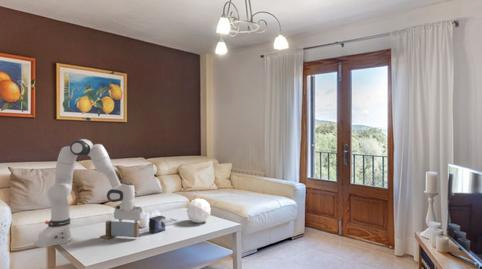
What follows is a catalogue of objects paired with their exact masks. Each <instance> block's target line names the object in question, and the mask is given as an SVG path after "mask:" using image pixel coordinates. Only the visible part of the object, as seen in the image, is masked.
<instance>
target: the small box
mask: <svg viewBox="0 0 482 269" xmlns="http://www.w3.org/2000/svg"><path fill="white" fill-rule="evenodd" d="M148 220H149V221H148V222H149V223H148V225H149V226H148V227H149V228H148V233H150V234H154V235H156V234H158V233H162V232H164V231H166V216H163V215H162V214H161V215H156V216H153V217H149V219H148Z"/></svg>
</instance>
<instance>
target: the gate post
mask: <svg viewBox="0 0 482 269" xmlns="http://www.w3.org/2000/svg"><path fill="white" fill-rule="evenodd" d="M112 221H113V220H106V221H105V234H102V235H100V236H99V237H100V238H101V239H104V240H106V241H107V240H110V239H111V240H112V239H115V238H117V237H118V236H111V222H112Z"/></svg>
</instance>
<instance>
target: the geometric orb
mask: <svg viewBox="0 0 482 269" xmlns="http://www.w3.org/2000/svg"><path fill="white" fill-rule="evenodd" d="M211 211H212V209H211V206H210V203H209V202H208V201H207V200H206V199H203V198H195V199H193V200H191V201H190V202H189V204H188V205H187V208H186V213H187V217H188V219H189V220H190V221H191V222H192V223H197V224H202V223H204V222H206V221H207V220H208V219H209V218H210V216H211Z"/></svg>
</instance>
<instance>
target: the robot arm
mask: <svg viewBox="0 0 482 269" xmlns="http://www.w3.org/2000/svg"><path fill="white" fill-rule="evenodd" d="M78 156H79V157H81V156H88V157H89V158H90V159H91V162H92V165H93V166H94V168H95V170H96V171H97V172H98V173H100V174H103V175H105V177H106V178H107V179H108V182H109V184H110V185H111V189H109V190H108V191H107V193H106V198H107V200H108V201H109V202H111V203H117V202H121V203H119V204H117V205H115V206H114V211H113V218H114V219H115V220H118V222H123V220H124V221H125V220H127V221H134V222H133V223H138V222H139V221H142V220H143V218H144V216H143V207H141V206H136V201H135V200H136V199H135V196H136V193H135V192H136V190H135V185H134V184H133V183H131V182H122V183H121V180H120V179H119V176H118V174H117V172H116V170H115V168H114V166H113V164H112V160H111V158H110V156H109V153H108V152H107V150H106V148H105V147H104V145H103V144H101V143H95V144H94V142H93V141H92V140H90V139H87V138H79V139H76V140H73V142H71V144H70V146H64V147H62V148H61V149H60V151H59V154H58V157H57V161H56V166H55V171H54V176H55V178H54V184H53V185H51V186H50V187H49V188H48V190H47V193H46V196H47V199H48V201H49V204H50V205H49V206H50V220H49V221H48V220H45V222H44V224H46V225H48V226H47V227H45V229H42V231H41V232H40V233H39V234H38V236H37V238H38V239H37V240H36V241H34V242H33V245H34V246H36V247H38V248H48V247H52V246H56V245H57V246H58V245H62V244H65V243H69V242H70V241H71V240H72V239H73V236H72V233H71V217H70V205H69V201H68V196H69V195H70V194H71V192H72V190H73V180H74V179H73V176H74V170H75V165H76V162H77V161H76V160H77V158H78Z"/></svg>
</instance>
